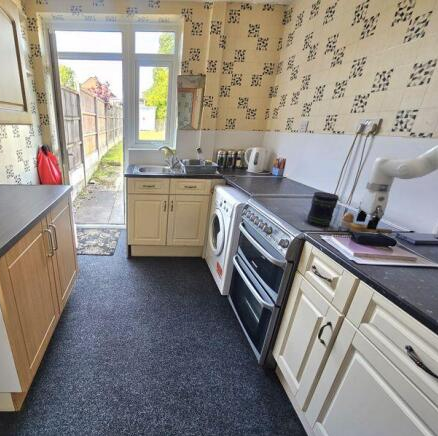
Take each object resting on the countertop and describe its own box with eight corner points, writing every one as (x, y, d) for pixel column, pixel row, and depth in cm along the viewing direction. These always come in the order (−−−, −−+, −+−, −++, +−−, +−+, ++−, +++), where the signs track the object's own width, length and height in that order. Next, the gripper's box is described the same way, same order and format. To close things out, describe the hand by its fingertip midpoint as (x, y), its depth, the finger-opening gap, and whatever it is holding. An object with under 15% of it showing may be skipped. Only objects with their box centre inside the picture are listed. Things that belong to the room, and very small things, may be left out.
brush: (387, 235, 110) (390, 227, 109) (393, 239, 106) (396, 231, 104) (346, 230, 114) (348, 222, 113) (350, 234, 110) (353, 226, 109)
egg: (349, 225, 121) (354, 211, 118) (354, 229, 116) (359, 215, 113) (336, 223, 122) (340, 210, 120) (340, 227, 117) (345, 214, 115)
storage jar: (302, 219, 126) (309, 191, 121) (322, 220, 126) (331, 192, 120) (312, 227, 117) (321, 197, 112) (334, 228, 116) (344, 198, 111)
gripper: (402, 192, 94) (386, 233, 100) (378, 183, 110) (365, 219, 115) (378, 191, 96) (364, 231, 102) (358, 182, 112) (347, 217, 118)
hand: (365, 225), depth 109 cm, fingers open, 9 cm apart
